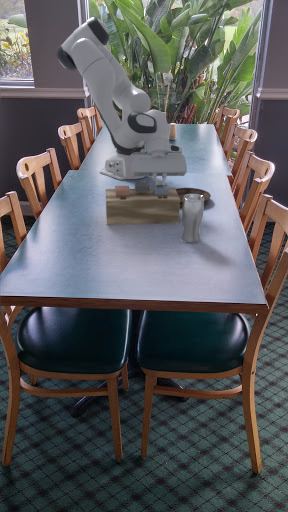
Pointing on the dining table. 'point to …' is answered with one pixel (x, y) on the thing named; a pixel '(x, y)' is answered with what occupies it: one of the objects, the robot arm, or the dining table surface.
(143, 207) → the wooden key base
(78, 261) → the dining table surface
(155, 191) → the slate key
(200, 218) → the beer glass
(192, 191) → the plant saucer
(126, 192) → the terracotta key
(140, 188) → the charcoal key
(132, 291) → the dining table surface
